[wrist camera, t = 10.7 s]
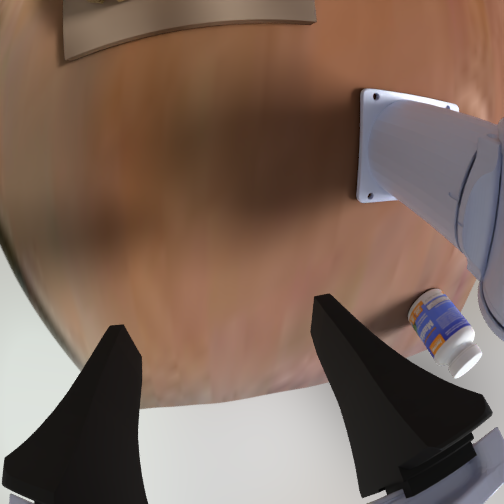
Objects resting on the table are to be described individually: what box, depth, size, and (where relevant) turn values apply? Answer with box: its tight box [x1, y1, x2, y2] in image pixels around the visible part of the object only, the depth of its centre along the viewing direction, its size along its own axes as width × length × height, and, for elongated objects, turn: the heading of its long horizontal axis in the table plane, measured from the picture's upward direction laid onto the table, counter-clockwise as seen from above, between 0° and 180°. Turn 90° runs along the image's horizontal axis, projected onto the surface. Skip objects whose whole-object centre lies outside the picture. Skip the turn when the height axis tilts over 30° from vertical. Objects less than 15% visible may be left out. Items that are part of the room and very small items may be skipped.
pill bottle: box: [408, 289, 482, 379], centre depth 24 cm, size 5×5×10 cm
